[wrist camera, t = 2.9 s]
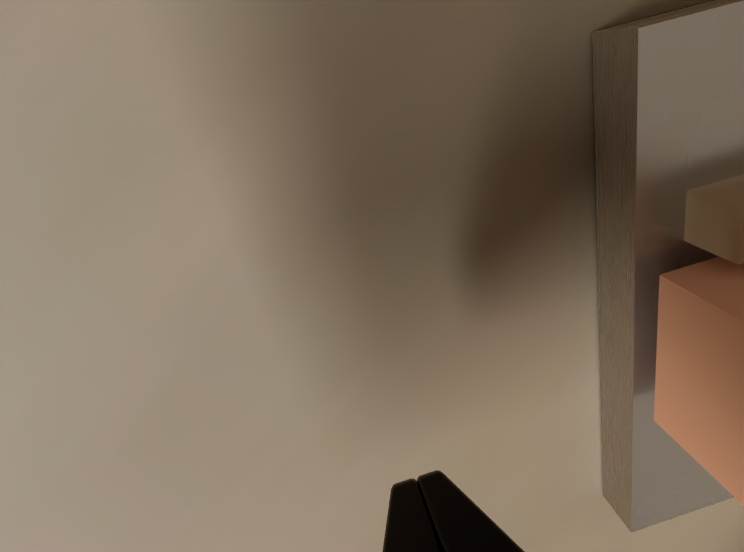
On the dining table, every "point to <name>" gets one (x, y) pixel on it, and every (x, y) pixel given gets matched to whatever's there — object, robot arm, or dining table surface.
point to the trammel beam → (717, 218)
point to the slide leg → (703, 366)
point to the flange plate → (656, 227)
